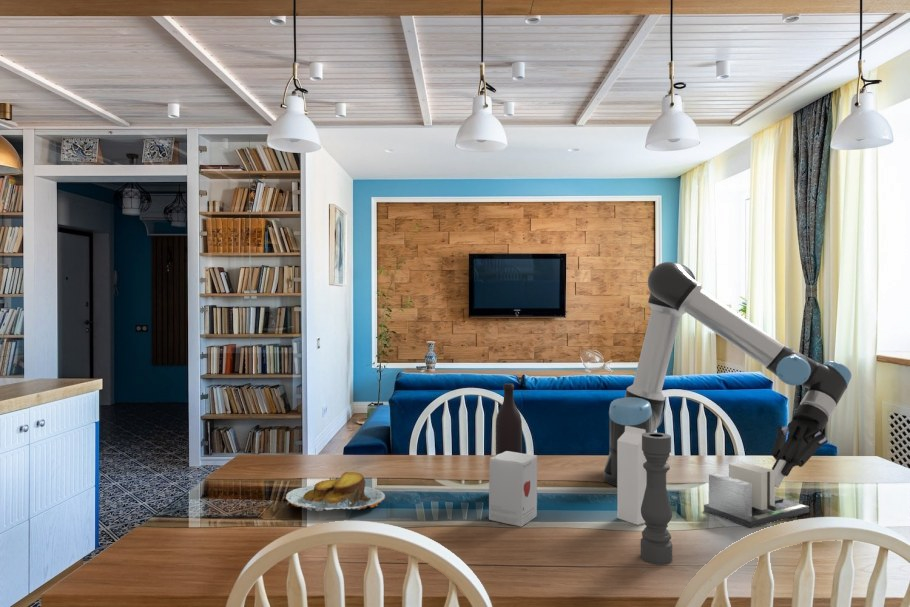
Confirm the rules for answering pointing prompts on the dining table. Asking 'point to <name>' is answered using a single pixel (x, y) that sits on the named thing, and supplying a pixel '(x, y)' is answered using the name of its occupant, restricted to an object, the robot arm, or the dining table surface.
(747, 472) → the block
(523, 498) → the supplement box
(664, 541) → the candle holder
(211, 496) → the dining table surface
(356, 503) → the food on plate
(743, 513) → the frame
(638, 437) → the milk
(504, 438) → the wine bottle
